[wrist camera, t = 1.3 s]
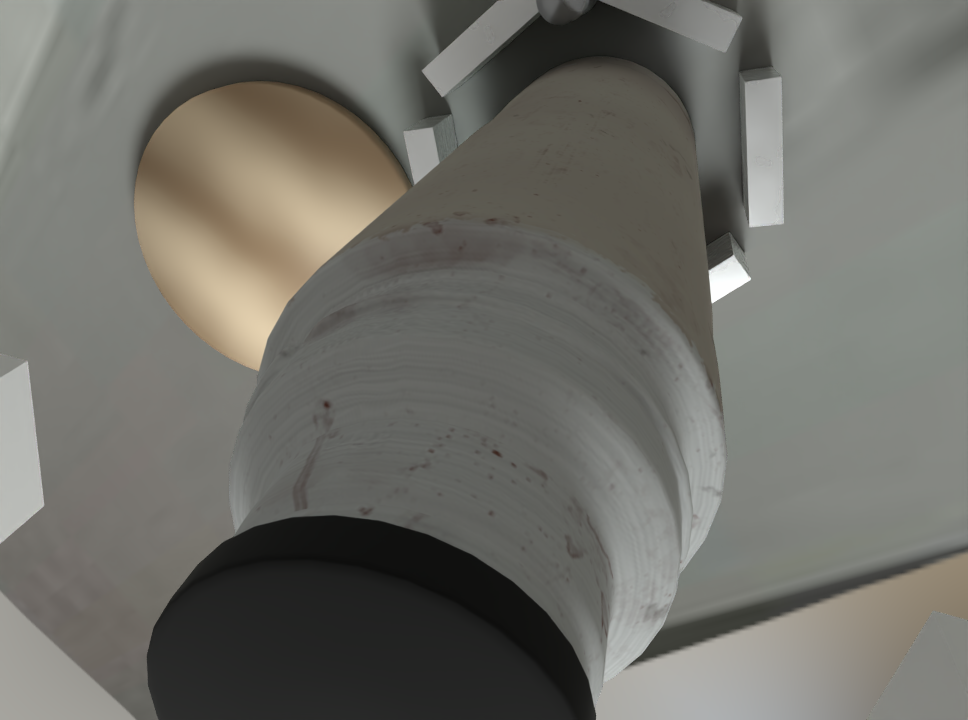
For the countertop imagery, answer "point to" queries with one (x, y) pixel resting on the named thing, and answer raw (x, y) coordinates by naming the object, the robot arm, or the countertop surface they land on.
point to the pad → (254, 204)
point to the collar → (670, 5)
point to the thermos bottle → (474, 436)
